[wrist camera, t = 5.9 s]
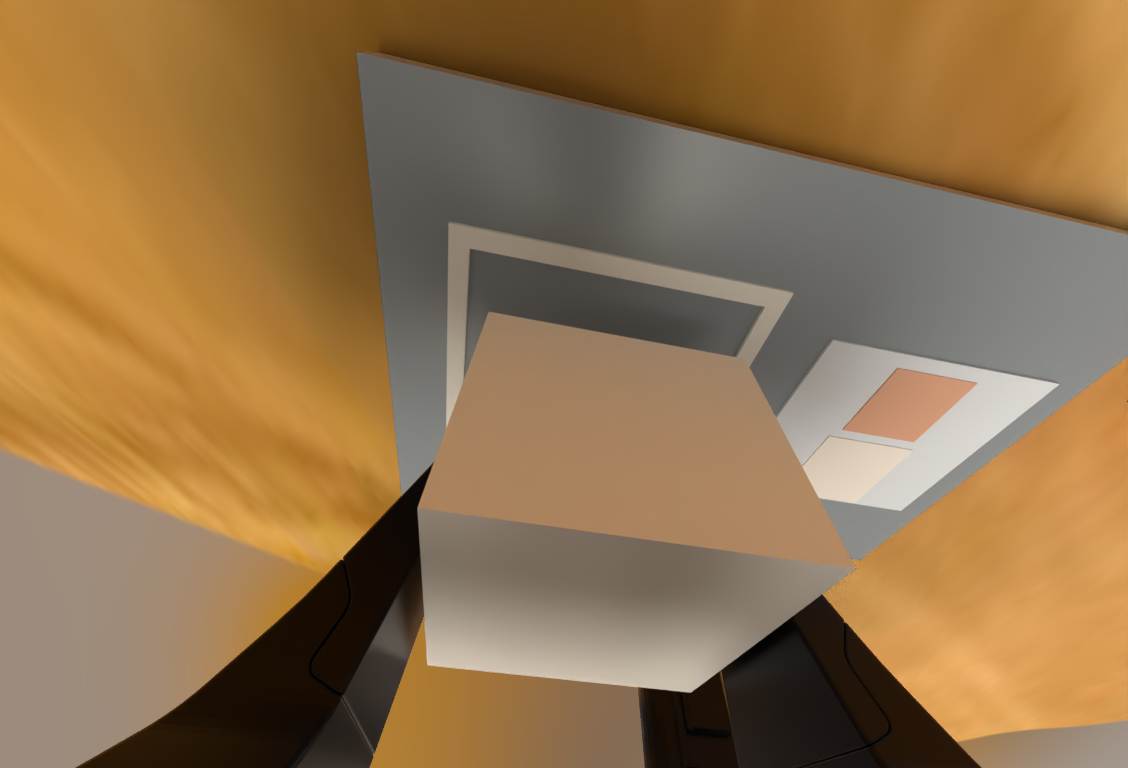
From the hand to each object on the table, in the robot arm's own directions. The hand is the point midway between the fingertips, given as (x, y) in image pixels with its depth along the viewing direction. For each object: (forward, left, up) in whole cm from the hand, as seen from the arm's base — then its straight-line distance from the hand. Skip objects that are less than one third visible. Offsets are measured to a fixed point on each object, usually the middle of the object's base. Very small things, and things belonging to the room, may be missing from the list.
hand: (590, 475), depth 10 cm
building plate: (0, -4, -4) cm, 6 cm away
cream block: (0, 0, -2) cm, 2 cm away
